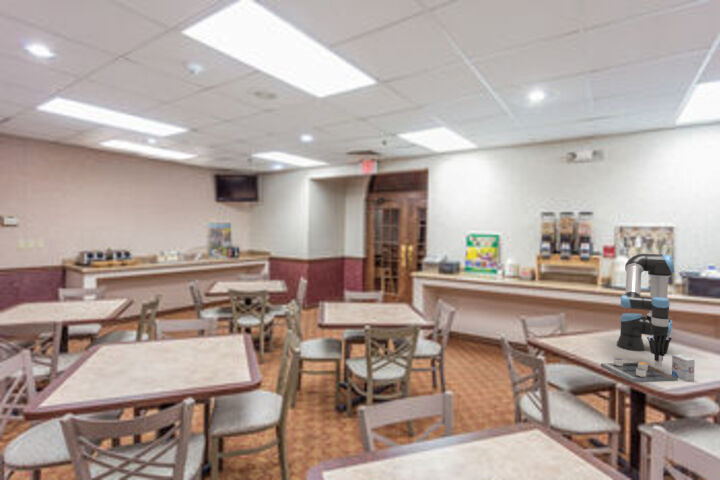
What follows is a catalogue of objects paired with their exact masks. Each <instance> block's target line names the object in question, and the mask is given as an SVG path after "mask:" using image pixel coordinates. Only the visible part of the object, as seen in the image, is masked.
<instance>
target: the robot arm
mask: <svg viewBox="0 0 720 480" xmlns="http://www.w3.org/2000/svg"><path fill="white" fill-rule="evenodd" d="M624 268H625V269H624V270H625V272H626V278H625V293H624V294H621V296H620V307H622V308H624V309H633V310H644V311H649V312H648V313H646V316H643V314H642V313H638V312H637V313H636V312H626V313H625V312H624V313H622V314H621V316H620V331H619V332H620V335H619V337H618V340H617V342H616V346H617V347H618V348H621V349H624V350H629V351H635V352H636V351H638V352H642V351H645V349H646V348H645V346H646V345H645V344H644V341H643V337H642V335H648V336H647V337H646V340H648V344H649V349H650V353H651V354H652V355H654V358H653V359H654V366H655V367H657V368H663V367H662V366H663V360H664V357H665V356H666V355H667V354H668V350H669V346H670V343H671V341H672V337H670V336H671V332H672V329H673V320H672V319H670V318H671V317H670V305H671V304H670V299H668V289H669V288H668V286H669V278H670V277H671V276H672V274H674V273H675V265H674V258H673V256H672V255H670V254H664V253H663V254H660V253H658V254H657V253H639V254H635V255H633V256H631V257H630V258H629V259H628V260H627V261H626V263H625V267H624ZM643 272H647V275H648V276H649V277H650V295H649V296H650V297H646V296H641V293H642V292H641V288H642V274H643Z"/></svg>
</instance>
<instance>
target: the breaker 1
mask: <svg viewBox="0 0 720 480" xmlns="http://www.w3.org/2000/svg"><path fill="white" fill-rule="evenodd" d="M613 363H614V364H615V365H617V366H623V363H624V360H623V359H622V358H620V357H614V358H613Z"/></svg>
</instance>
